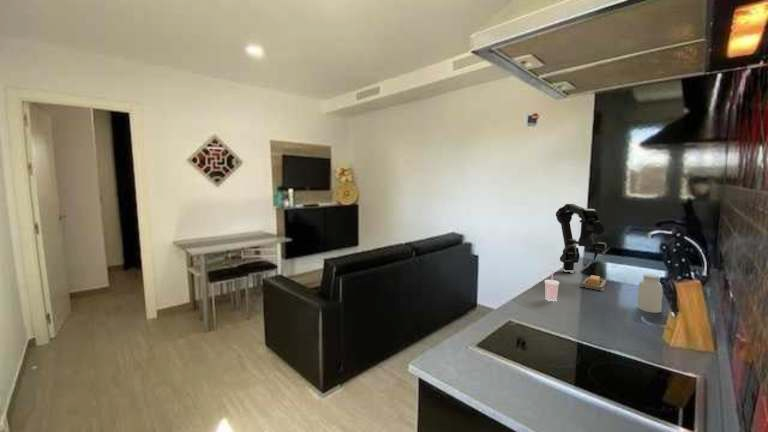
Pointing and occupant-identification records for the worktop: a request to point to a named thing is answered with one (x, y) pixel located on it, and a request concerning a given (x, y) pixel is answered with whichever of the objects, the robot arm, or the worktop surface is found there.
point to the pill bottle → (650, 294)
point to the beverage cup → (551, 289)
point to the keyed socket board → (594, 285)
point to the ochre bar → (594, 280)
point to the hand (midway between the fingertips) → (584, 258)
